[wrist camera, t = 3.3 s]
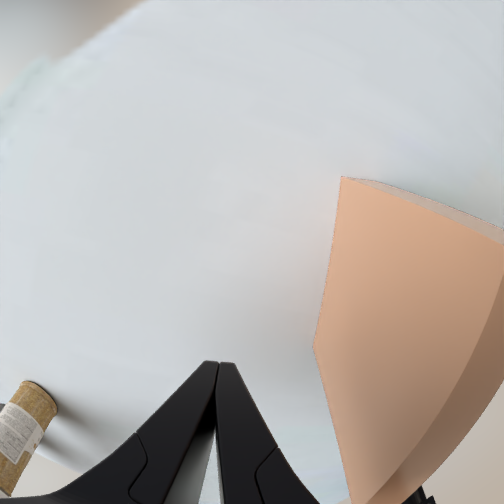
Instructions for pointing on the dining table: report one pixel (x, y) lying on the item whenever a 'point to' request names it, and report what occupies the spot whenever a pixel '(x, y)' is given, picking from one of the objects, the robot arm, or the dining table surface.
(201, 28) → the dining table surface
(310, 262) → the dining table surface
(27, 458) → the sprinkles bottle
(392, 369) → the tile
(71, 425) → the dining table surface
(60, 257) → the dining table surface
